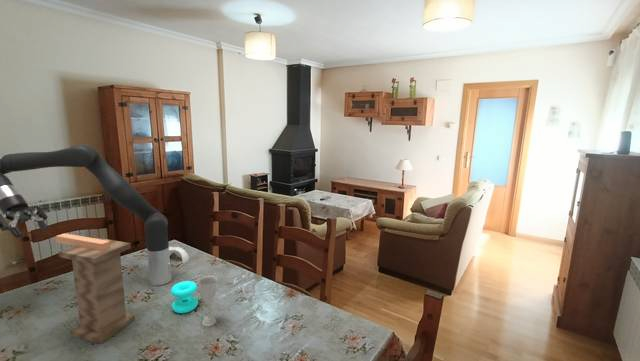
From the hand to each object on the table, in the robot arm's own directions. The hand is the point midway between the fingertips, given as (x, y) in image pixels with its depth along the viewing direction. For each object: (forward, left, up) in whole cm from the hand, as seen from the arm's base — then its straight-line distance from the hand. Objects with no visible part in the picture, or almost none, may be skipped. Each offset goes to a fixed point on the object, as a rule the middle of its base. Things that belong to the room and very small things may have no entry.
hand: (33, 233), depth 117 cm
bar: (-16, +18, -1) cm, 25 cm away
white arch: (-50, -30, -34) cm, 68 cm away
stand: (-20, +23, -33) cm, 45 cm away
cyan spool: (-48, +25, -34) cm, 64 cm away
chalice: (-54, +40, -34) cm, 75 cm away
